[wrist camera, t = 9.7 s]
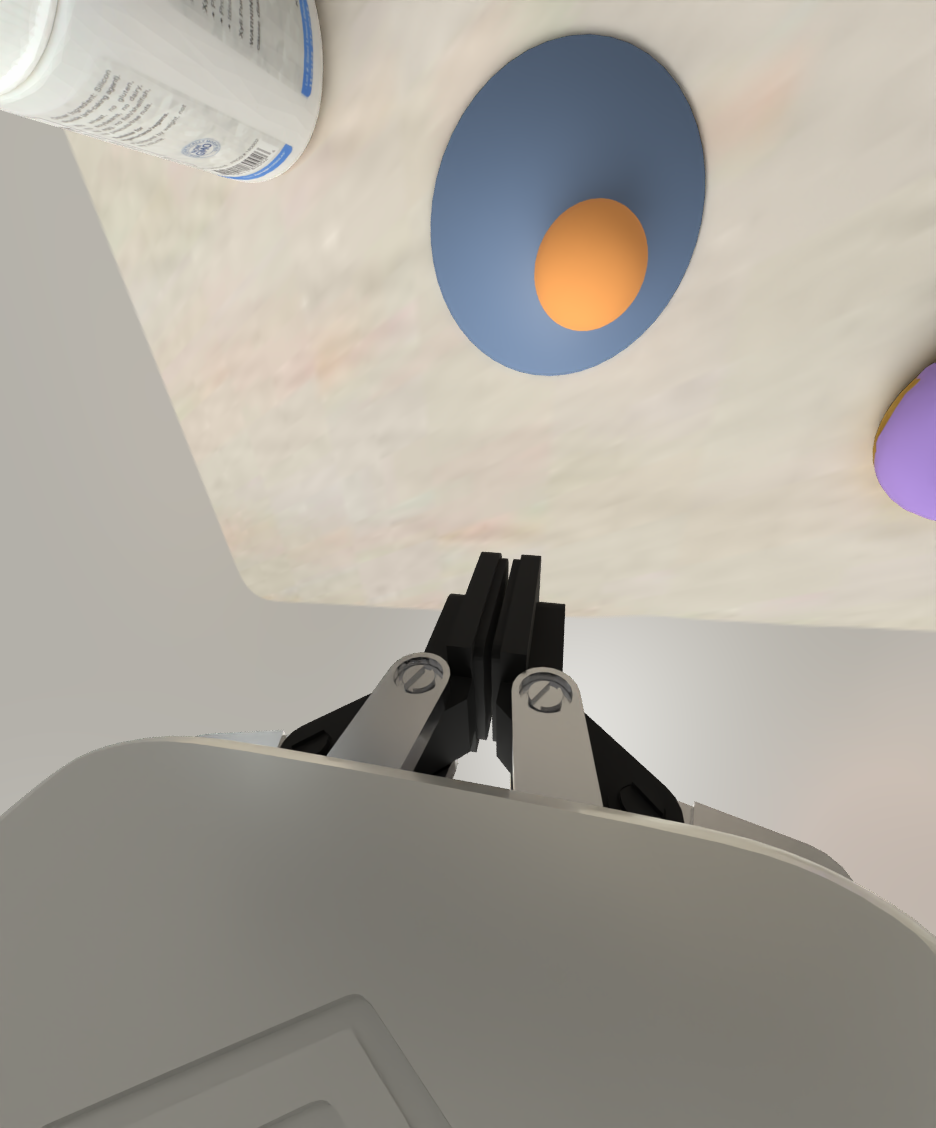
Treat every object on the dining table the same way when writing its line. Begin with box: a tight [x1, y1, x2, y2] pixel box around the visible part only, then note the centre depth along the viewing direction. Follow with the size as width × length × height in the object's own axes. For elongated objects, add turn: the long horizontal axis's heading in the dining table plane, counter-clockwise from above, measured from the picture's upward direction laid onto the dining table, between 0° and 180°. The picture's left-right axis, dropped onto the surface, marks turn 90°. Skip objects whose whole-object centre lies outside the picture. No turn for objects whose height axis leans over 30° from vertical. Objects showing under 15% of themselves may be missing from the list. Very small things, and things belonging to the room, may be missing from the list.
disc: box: [431, 34, 705, 376], centre depth 21 cm, size 13×13×1 cm
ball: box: [534, 198, 648, 331], centre depth 20 cm, size 5×5×5 cm
